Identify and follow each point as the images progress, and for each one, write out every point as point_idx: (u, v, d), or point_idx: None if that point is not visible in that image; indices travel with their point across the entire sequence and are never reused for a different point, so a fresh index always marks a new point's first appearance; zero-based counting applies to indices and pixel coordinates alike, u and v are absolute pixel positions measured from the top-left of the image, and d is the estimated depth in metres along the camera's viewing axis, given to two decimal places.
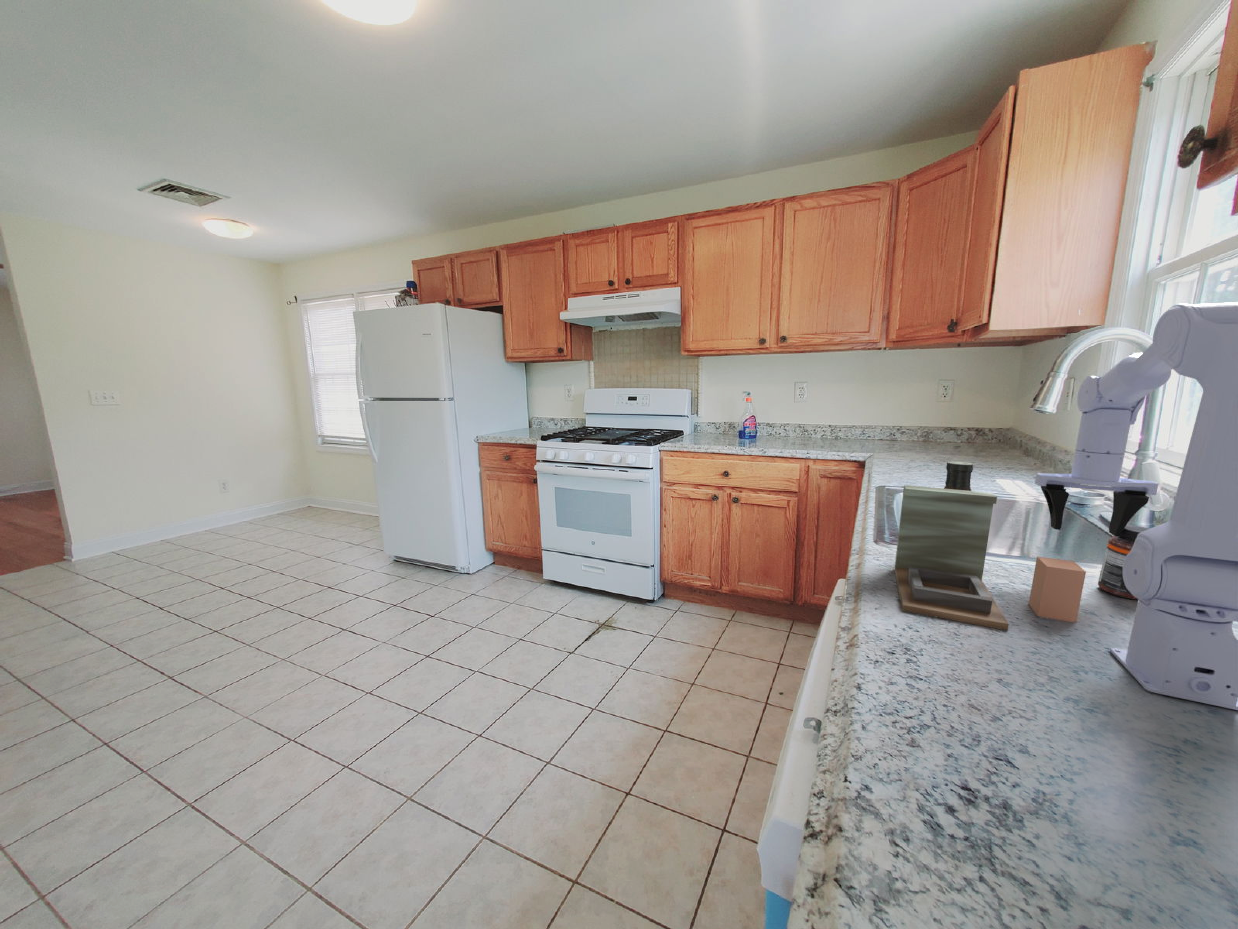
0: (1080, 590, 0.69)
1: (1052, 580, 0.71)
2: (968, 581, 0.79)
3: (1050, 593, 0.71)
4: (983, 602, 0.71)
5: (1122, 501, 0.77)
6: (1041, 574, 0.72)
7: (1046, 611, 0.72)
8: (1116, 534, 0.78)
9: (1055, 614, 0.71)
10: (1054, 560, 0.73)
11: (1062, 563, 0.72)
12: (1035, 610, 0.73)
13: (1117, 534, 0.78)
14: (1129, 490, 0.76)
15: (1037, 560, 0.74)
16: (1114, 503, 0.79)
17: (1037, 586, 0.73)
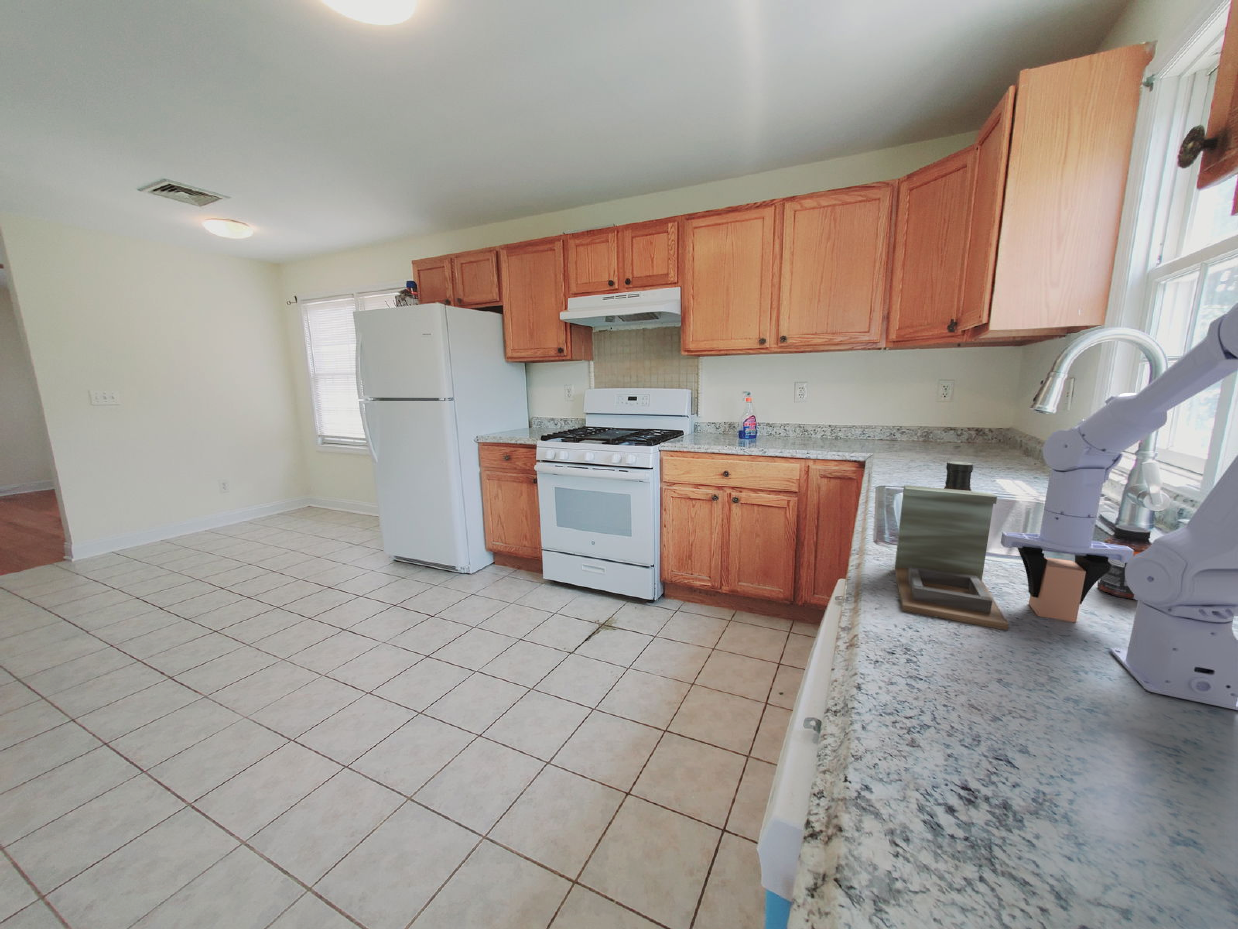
0: (1080, 590, 0.69)
1: (1052, 580, 0.71)
2: (968, 581, 0.79)
3: (1050, 593, 0.71)
4: (983, 602, 0.71)
5: (1083, 566, 0.70)
6: None
7: (1046, 611, 0.72)
8: None
9: (1055, 614, 0.71)
10: (1054, 559, 0.73)
11: (1062, 563, 0.72)
12: (1035, 610, 0.73)
13: None
14: (1090, 555, 0.69)
15: None
16: None
17: None
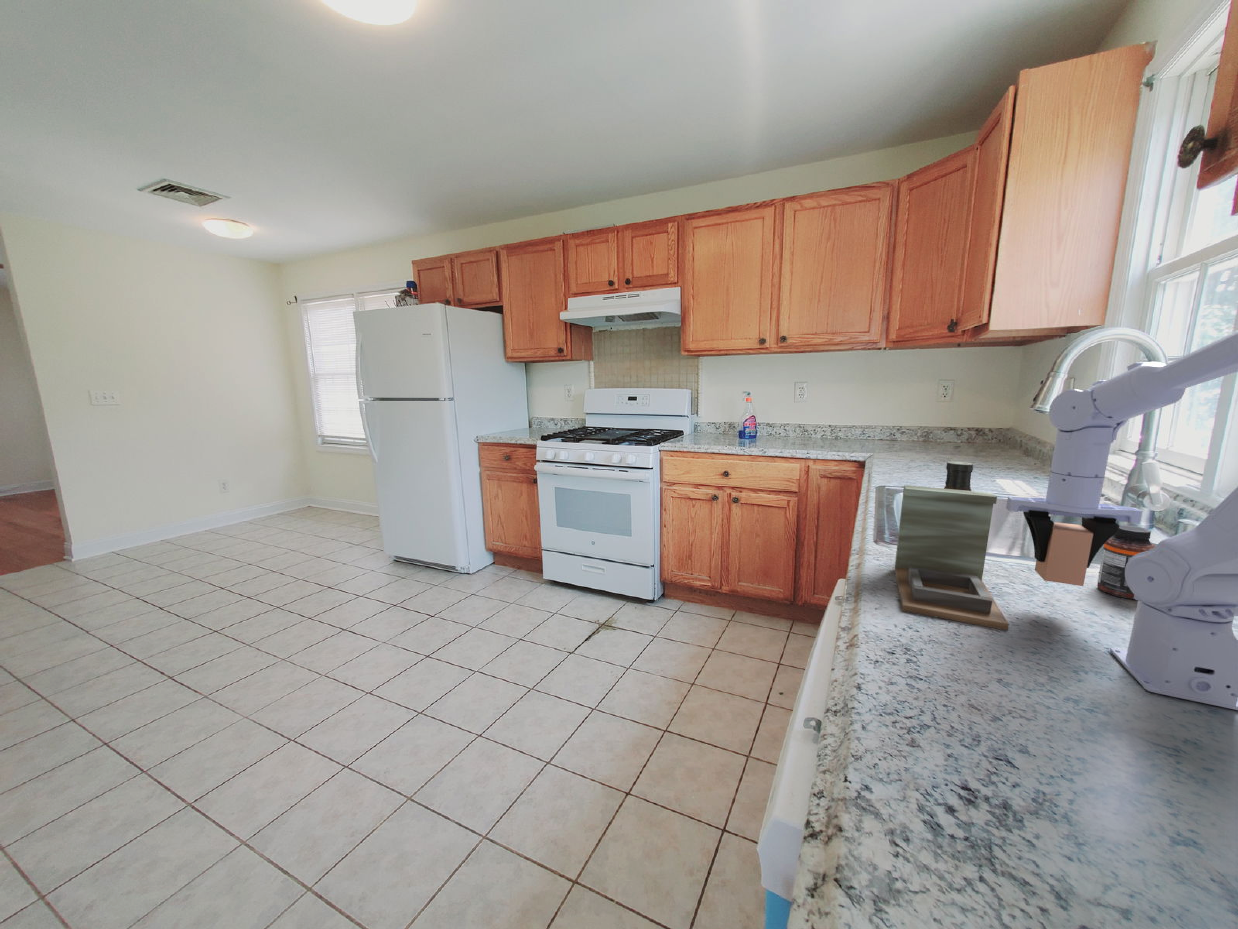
0: (1087, 552, 0.68)
1: (1059, 543, 0.70)
2: (968, 581, 0.79)
3: (1057, 557, 0.70)
4: (983, 602, 0.71)
5: (1090, 528, 0.69)
6: None
7: (1053, 575, 0.70)
8: None
9: (1062, 578, 0.70)
10: (1061, 524, 0.72)
11: (1068, 526, 0.71)
12: (1041, 575, 0.72)
13: None
14: (1098, 517, 0.68)
15: None
16: None
17: None
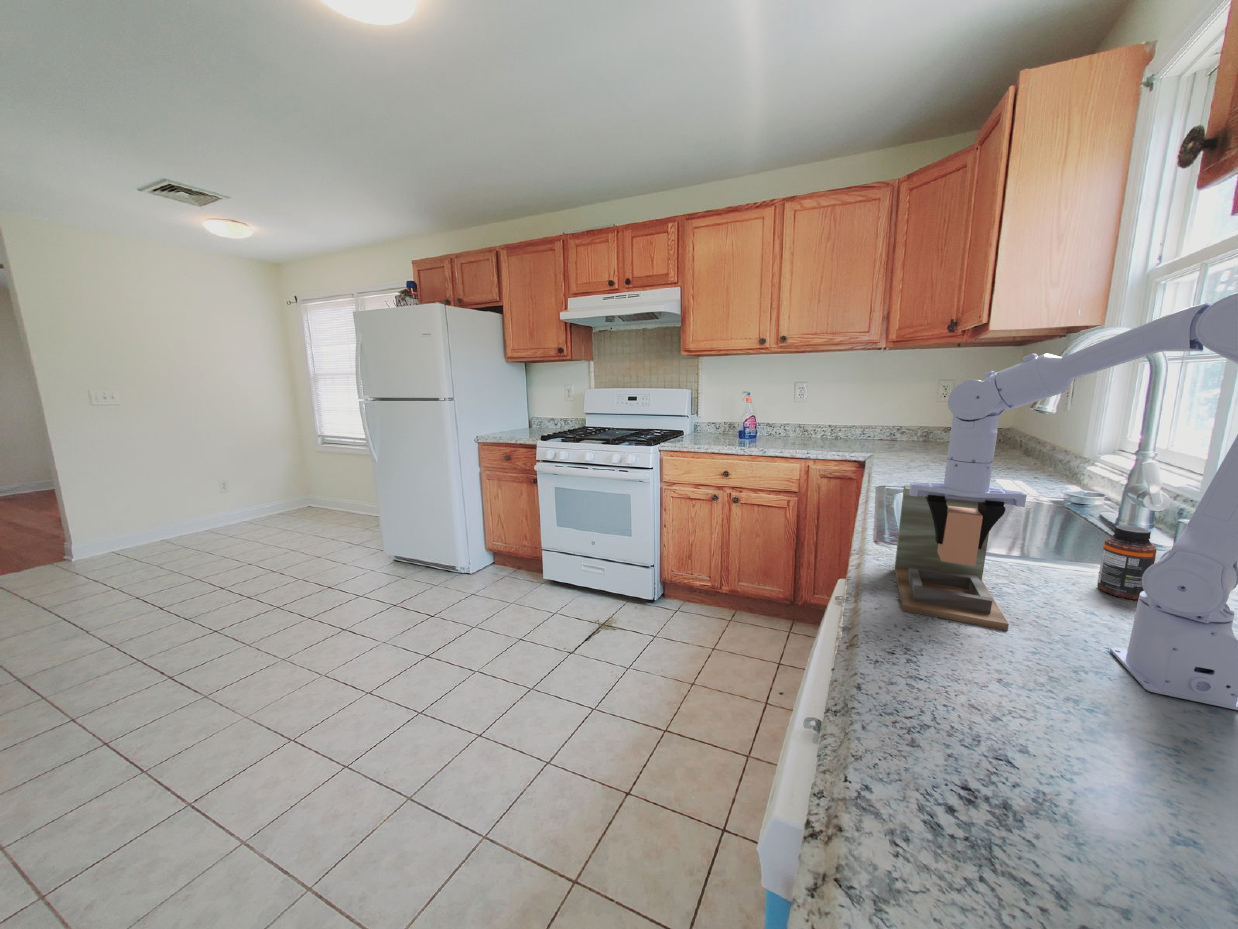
0: (978, 534, 0.72)
1: (953, 525, 0.73)
2: (968, 581, 0.79)
3: (952, 538, 0.74)
4: (983, 602, 0.71)
5: (982, 512, 0.73)
6: None
7: (948, 556, 0.74)
8: None
9: (956, 558, 0.74)
10: (958, 507, 0.76)
11: (964, 510, 0.75)
12: (940, 556, 0.76)
13: (978, 547, 0.73)
14: (988, 500, 0.72)
15: None
16: None
17: None
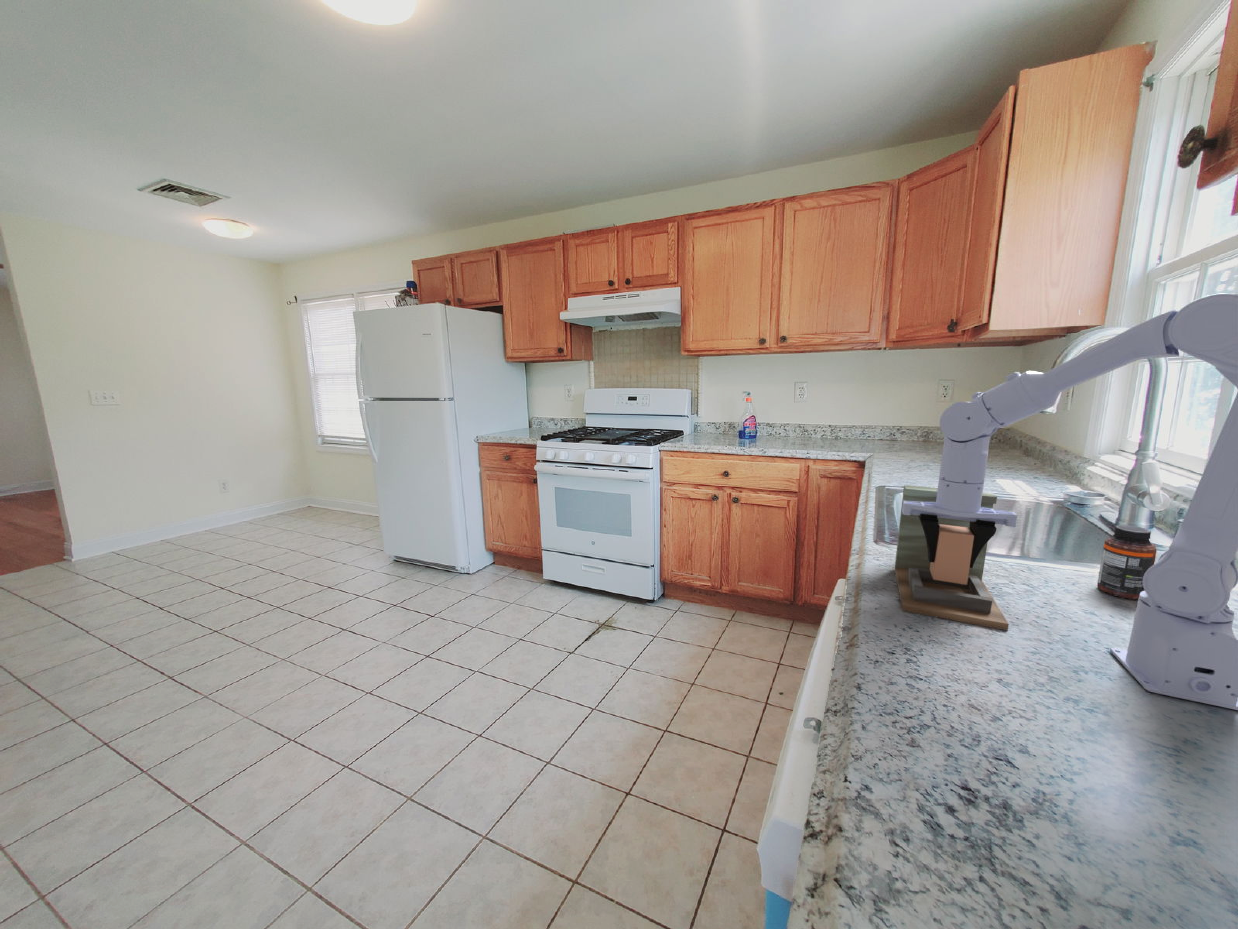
0: (969, 553, 0.73)
1: (945, 544, 0.74)
2: (968, 581, 0.79)
3: (944, 557, 0.75)
4: (983, 602, 0.71)
5: (973, 531, 0.74)
6: None
7: (940, 574, 0.75)
8: None
9: (948, 577, 0.75)
10: (950, 526, 0.77)
11: (955, 529, 0.75)
12: (932, 574, 0.77)
13: None
14: (980, 520, 0.73)
15: None
16: None
17: None
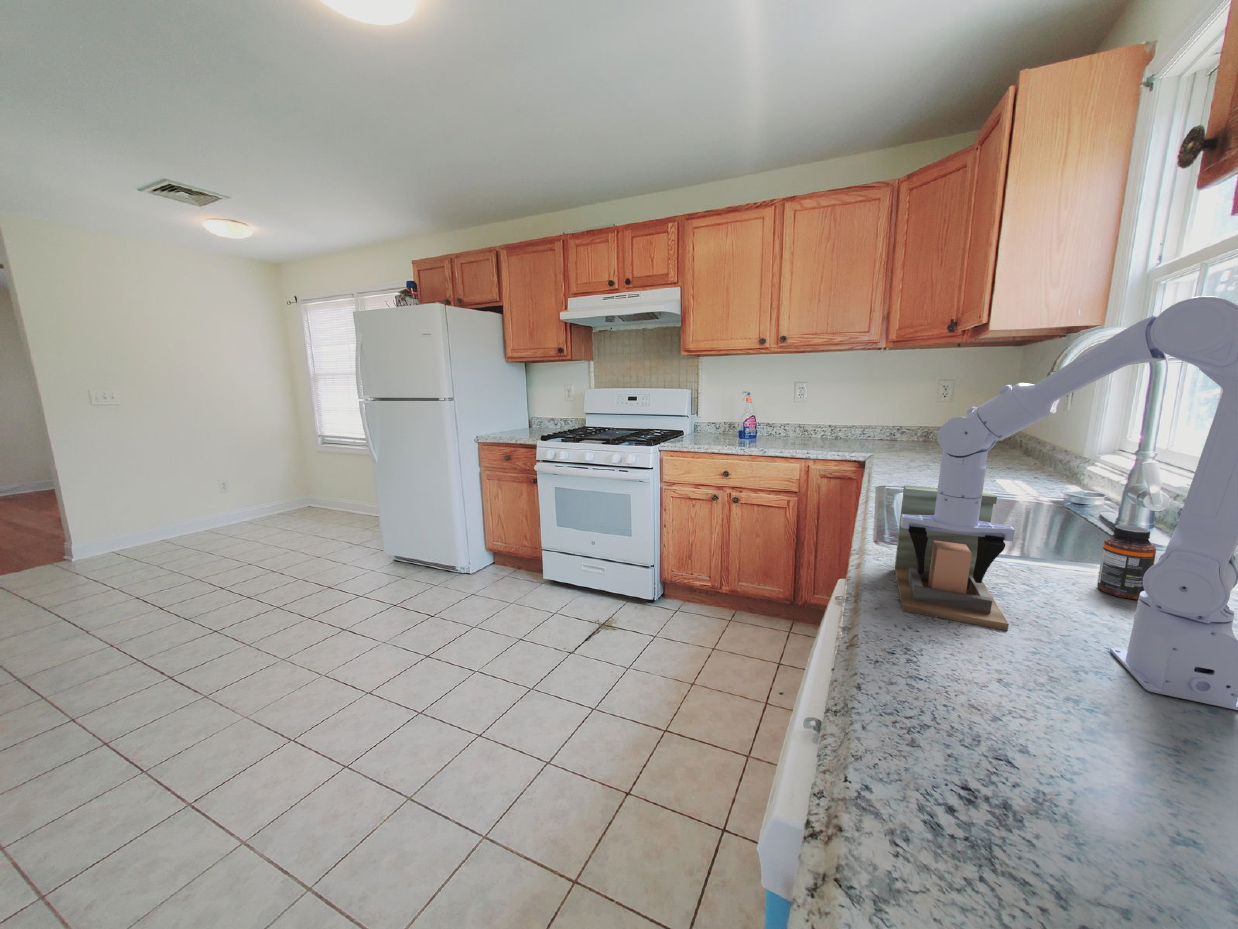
0: (967, 571, 0.74)
1: (942, 562, 0.75)
2: (968, 581, 0.79)
3: (941, 574, 0.75)
4: (983, 602, 0.71)
5: (982, 546, 0.73)
6: (934, 556, 0.76)
7: None
8: (977, 581, 0.74)
9: None
10: (948, 543, 0.77)
11: (953, 546, 0.76)
12: None
13: (978, 581, 0.74)
14: (988, 535, 0.73)
15: (933, 544, 0.78)
16: (977, 547, 0.76)
17: (932, 568, 0.77)
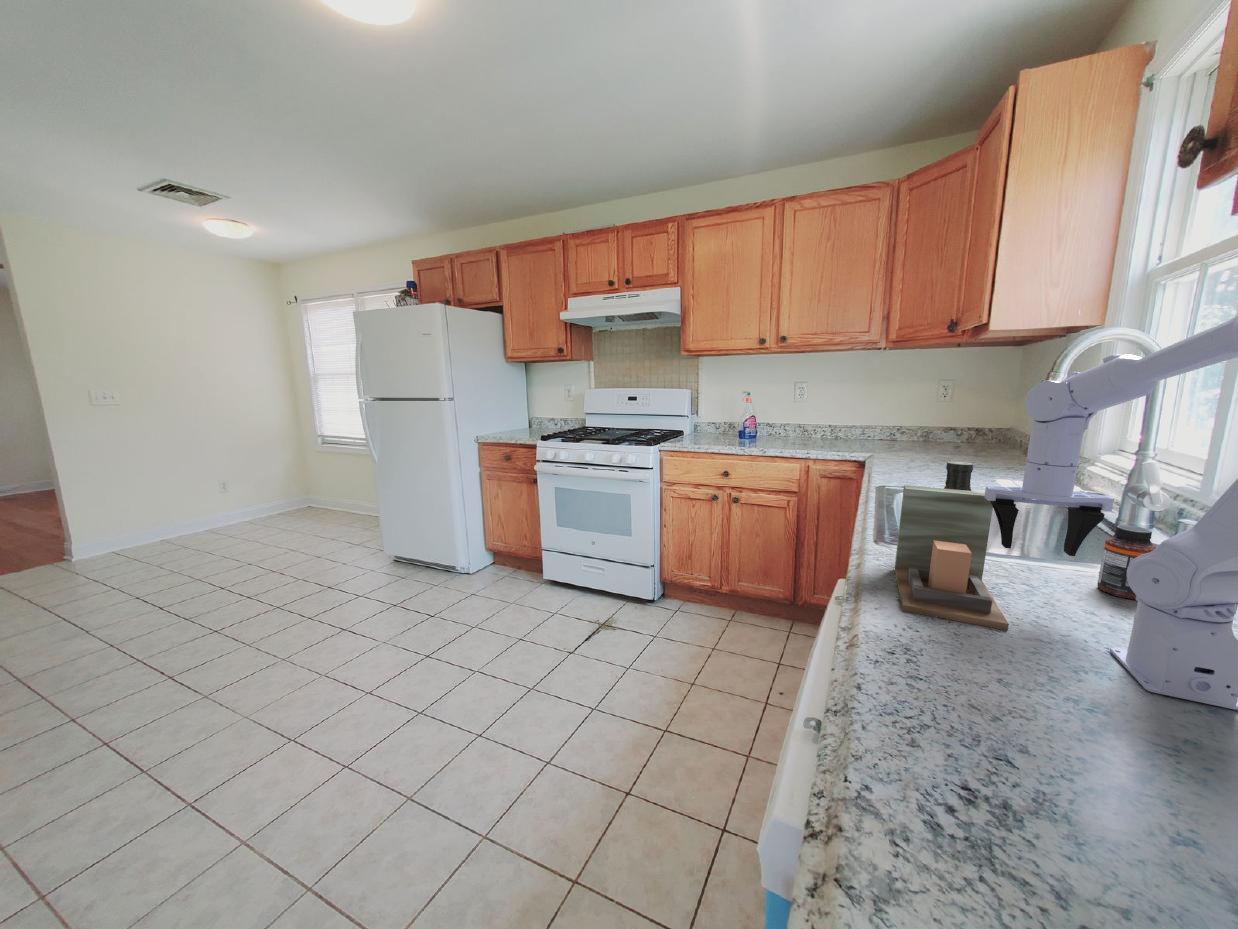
0: (967, 571, 0.74)
1: (942, 562, 0.75)
2: (968, 581, 0.79)
3: (941, 574, 0.75)
4: (983, 602, 0.71)
5: (1076, 517, 0.70)
6: (934, 556, 0.76)
7: None
8: (1070, 554, 0.71)
9: None
10: (948, 543, 0.77)
11: (953, 546, 0.76)
12: None
13: (1071, 554, 0.71)
14: (1084, 506, 0.70)
15: (933, 544, 0.78)
16: (1068, 519, 0.72)
17: (932, 568, 0.77)
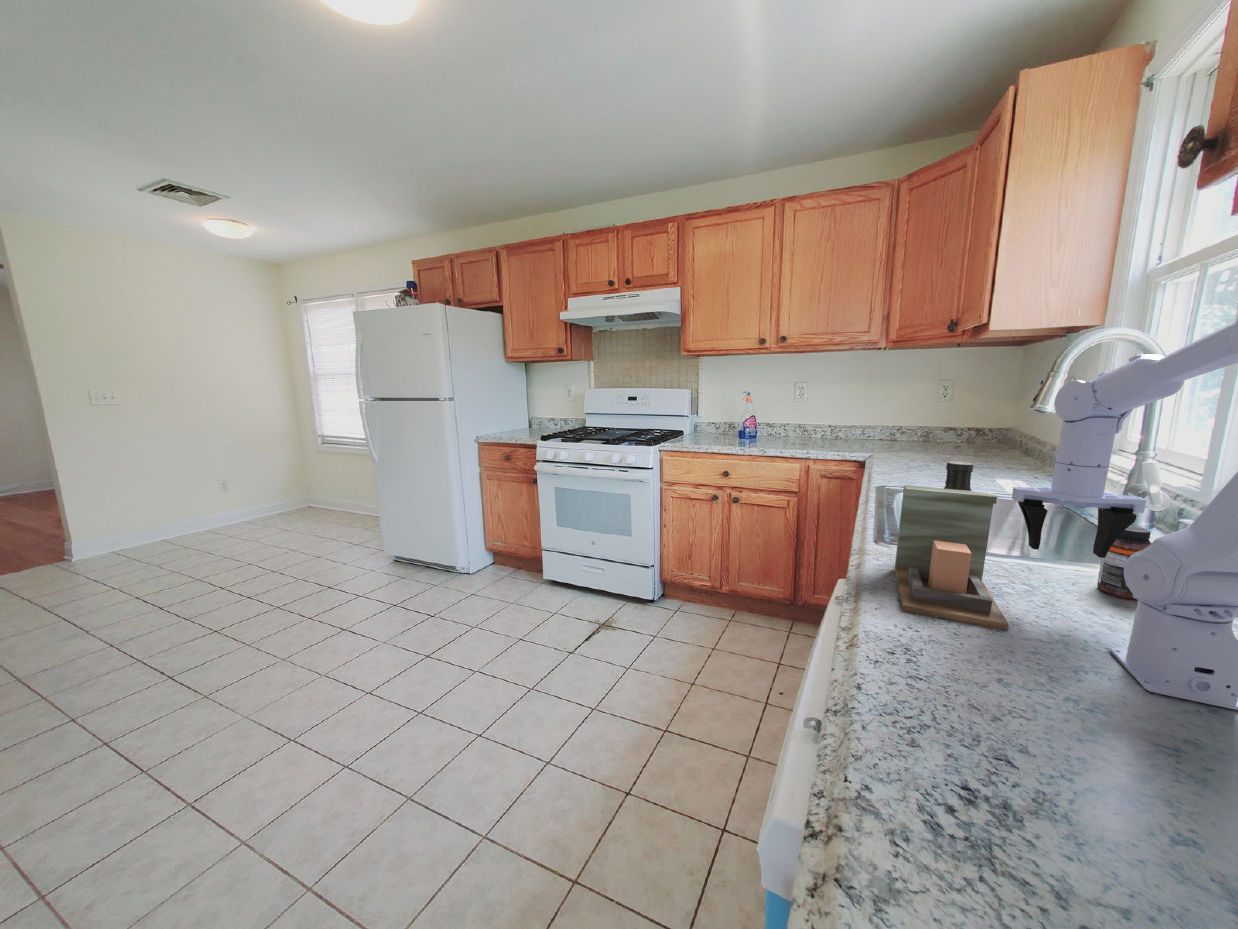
0: (967, 571, 0.74)
1: (942, 562, 0.75)
2: (968, 581, 0.79)
3: (941, 574, 0.75)
4: (983, 602, 0.71)
5: (1107, 519, 0.69)
6: (934, 556, 0.76)
7: None
8: (1101, 555, 0.70)
9: None
10: (948, 543, 0.77)
11: (953, 546, 0.76)
12: None
13: (1102, 555, 0.70)
14: (1115, 507, 0.69)
15: (933, 544, 0.78)
16: (1098, 521, 0.72)
17: (932, 568, 0.77)
